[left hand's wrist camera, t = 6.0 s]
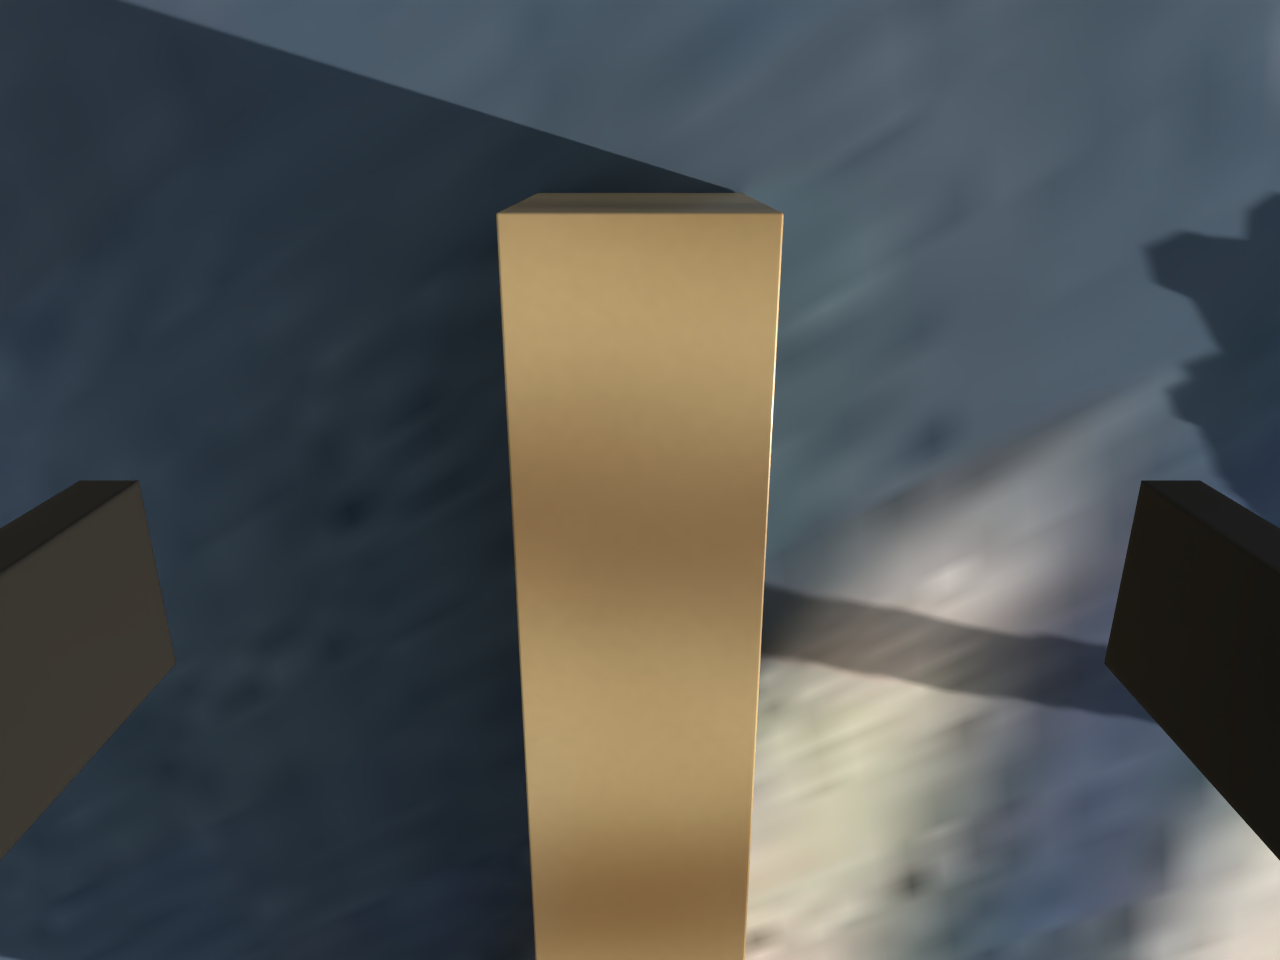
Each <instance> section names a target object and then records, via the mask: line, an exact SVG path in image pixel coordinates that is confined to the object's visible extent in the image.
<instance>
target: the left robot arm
mask: <svg viewBox="0 0 1280 960" xmlns="http://www.w3.org/2000/svg"><path fill="white" fill-rule="evenodd" d="M175 664H176V663H175V658H174V653H173V648H172V643H171V638H170V633H169V628H168V623H167V618H166V613H165V609H164V604H163V599H162V594H161V589H160V584H159V579H158V574H157V569H156V564H155V559H154V554H153V550H152V545H151V540H150V535H149V530H148V525H147V520H146V515H145V510H144V505H143V500H142V495H141V491H140V486H139V481H78V482H77V483H75V484H74V485H72V486H70V487H69V488H67V489H65V490H64V491H62V492H60V493H59V494H57V495H55V496H54V497H52V498H50V499H49V500H47V501H45V502H44V503H42V504H40V505H39V506H37V507H35V508H34V509H32V510H30V511H29V512H27V513H25V514H24V515H22V516H20V517H19V518H17V519H15V520H14V521H12V522H11V523H9V524H7V525H6V526H4V527H2V528H1V529H0V860H1V859H2V858H3V857H4V856H5V854H6V853H7V852H8V851H9V850H10V849H11V848H12V847H13V845H14V844H15V843H16V842H17V841H18V840H19V839H20V838H21V836H22V835H23V834H24V833H25V832H26V831H27V830H28V829H29V827H30V826H31V825H32V824H33V823H34V822H35V821H36V820H37V819H38V817H39V816H40V815H41V814H42V813H43V812H44V811H45V810H46V808H47V807H48V806H49V805H50V804H51V803H52V802H53V801H54V799H55V798H56V797H57V796H58V795H59V794H60V793H61V792H62V790H63V789H64V788H65V787H66V786H67V785H68V784H69V783H70V782H71V780H72V779H73V778H74V777H75V776H76V775H77V774H78V773H79V771H80V770H81V769H82V768H83V767H84V766H85V765H86V764H87V762H88V761H89V760H90V759H91V758H92V757H93V756H94V755H95V753H96V752H97V751H98V750H99V749H100V748H101V747H102V746H103V744H104V743H105V742H106V741H107V740H108V739H109V738H110V737H111V736H112V734H113V733H114V732H115V731H116V730H117V729H118V728H119V727H120V725H121V724H122V723H123V722H124V721H125V720H126V719H127V718H128V716H129V715H130V714H131V713H132V712H133V711H134V710H135V709H136V707H137V706H138V705H139V704H140V703H141V702H142V701H143V700H144V699H145V697H146V696H147V695H148V694H149V693H150V692H151V691H152V690H153V688H154V687H155V686H156V685H157V684H158V683H159V682H160V681H161V679H162V678H163V677H164V676H165V675H166V674H167V673H168V672H169V670H170V669H171V668H172V667H173V666H174V665H175ZM1104 664H1105V665H1106V666H1107V667H1108V668H1109V669H1110V670H1111V672H1112V673H1113V674H1114V675H1115V676H1116V677H1117V678H1118V679H1119V681H1120V682H1121V683H1122V684H1123V685H1124V686H1125V687H1126V688H1127V690H1128V691H1129V692H1130V693H1131V694H1132V695H1133V696H1134V697H1135V699H1136V700H1137V701H1138V702H1139V703H1140V704H1141V705H1142V706H1143V707H1144V709H1145V710H1146V711H1147V712H1148V713H1149V714H1150V715H1151V716H1152V718H1153V719H1154V720H1155V721H1156V722H1157V723H1158V724H1159V725H1160V727H1161V728H1162V729H1163V730H1164V731H1165V732H1166V733H1167V734H1168V736H1169V737H1170V738H1171V739H1172V740H1173V741H1174V742H1175V743H1176V744H1177V746H1178V747H1179V748H1180V749H1181V750H1182V751H1183V752H1184V753H1185V755H1186V756H1187V757H1188V758H1189V759H1190V760H1191V761H1192V762H1193V764H1194V765H1195V766H1196V767H1197V768H1198V769H1199V770H1200V771H1201V773H1202V774H1203V775H1204V776H1205V777H1206V778H1207V779H1208V780H1209V782H1210V783H1211V784H1212V785H1213V786H1214V787H1215V788H1216V789H1217V790H1218V792H1219V793H1220V794H1221V795H1222V796H1223V797H1224V798H1225V799H1226V801H1227V802H1228V803H1229V804H1230V805H1231V806H1232V807H1233V808H1234V810H1235V811H1236V812H1237V813H1238V814H1239V815H1240V816H1241V817H1242V819H1243V820H1244V821H1245V822H1246V823H1247V824H1248V825H1249V826H1250V827H1251V829H1252V830H1253V831H1254V832H1255V833H1256V834H1257V835H1258V836H1259V838H1260V839H1261V840H1262V841H1263V842H1264V843H1265V844H1266V845H1267V847H1268V848H1269V849H1270V850H1271V851H1272V852H1273V853H1274V854H1275V856H1276V857H1277V858H1278V859H1279V860H1280V529H1279V528H1278V527H1276V526H1274V525H1273V524H1271V523H1269V522H1268V521H1266V520H1265V519H1263V518H1261V517H1260V516H1258V515H1256V514H1255V513H1253V512H1251V511H1250V510H1248V509H1246V508H1245V507H1243V506H1241V505H1240V504H1238V503H1236V502H1235V501H1233V500H1231V499H1230V498H1228V497H1226V496H1225V495H1223V494H1221V493H1220V492H1218V491H1216V490H1215V489H1213V488H1211V487H1210V486H1208V485H1206V484H1205V483H1203V482H1202V481H1141V486H1140V491H1139V495H1138V500H1137V505H1136V510H1135V515H1134V520H1133V525H1132V530H1131V535H1130V540H1129V545H1128V550H1127V554H1126V559H1125V564H1124V569H1123V574H1122V579H1121V584H1120V589H1119V594H1118V599H1117V604H1116V609H1115V613H1114V618H1113V623H1112V628H1111V633H1110V638H1109V643H1108V648H1107V653H1106V658H1105V663H1104Z"/></svg>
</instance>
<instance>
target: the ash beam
mask: <svg viewBox="0 0 1280 960" xmlns="http://www.w3.org/2000/svg"><path fill="white" fill-rule="evenodd" d="M783 217H784V215H783V213H781V212H779V211H777V210H775V209H773V208H771V207H769V206H767V205H765V204H763V203H761V202H759V201H757V200H755V199H753V198H751V197H749V196H747V195H745V194H743V193H537V194H535V195H533V196H531V197H529V198H527V199H525V200H523V201H521V202H519V203H517V204H515V205H513V206H511V207H508V208H506V209H504V210H502V211H500V212H498V213H497V214H496V222H497V241H498V260H499V279H500V298H501V317H502V336H503V355H504V374H505V393H506V412H507V431H508V449H509V468H510V487H511V506H512V525H513V544H514V563H515V582H516V601H517V620H518V639H519V658H520V677H521V696H522V715H523V734H524V753H525V772H526V791H527V810H528V829H529V848H530V867H531V886H532V905H533V924H534V943H535V960H744V959H745V940H746V921H747V902H748V883H749V864H750V845H751V826H752V807H753V788H754V769H755V750H756V731H757V712H758V693H759V674H760V655H761V636H762V617H763V598H764V579H765V560H766V541H767V521H768V502H769V483H770V464H771V445H772V426H773V407H774V388H775V369H776V350H777V331H778V312H779V293H780V274H781V255H782V236H783Z"/></svg>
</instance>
